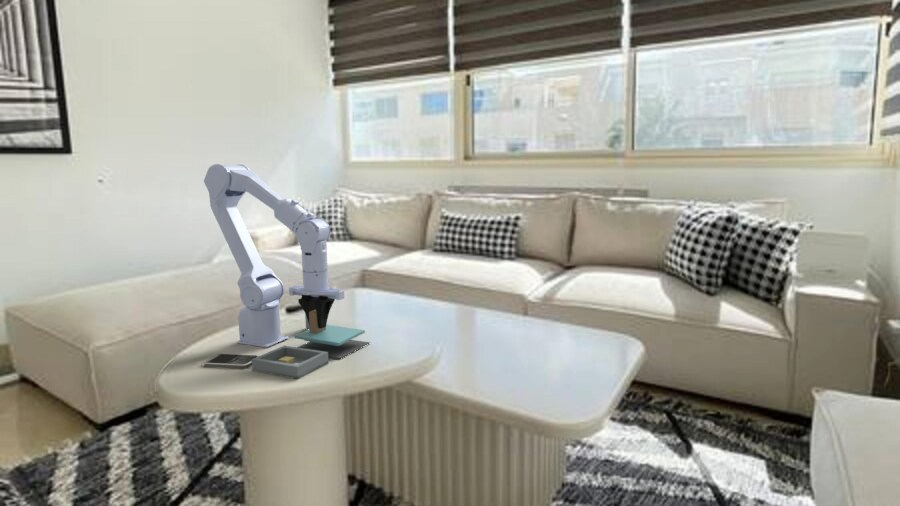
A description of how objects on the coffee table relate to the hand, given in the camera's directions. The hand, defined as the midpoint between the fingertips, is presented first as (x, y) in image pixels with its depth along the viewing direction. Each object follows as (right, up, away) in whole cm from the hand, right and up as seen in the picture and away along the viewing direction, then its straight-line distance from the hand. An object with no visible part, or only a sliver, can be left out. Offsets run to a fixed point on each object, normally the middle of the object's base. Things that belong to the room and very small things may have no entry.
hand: (317, 326), depth 130 cm
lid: (+3, -2, -1) cm, 4 cm away
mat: (+3, -5, -1) cm, 6 cm away
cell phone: (-17, -7, -10) cm, 21 cm away
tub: (-3, -7, -13) cm, 15 cm away
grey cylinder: (-5, -3, +16) cm, 17 cm away
